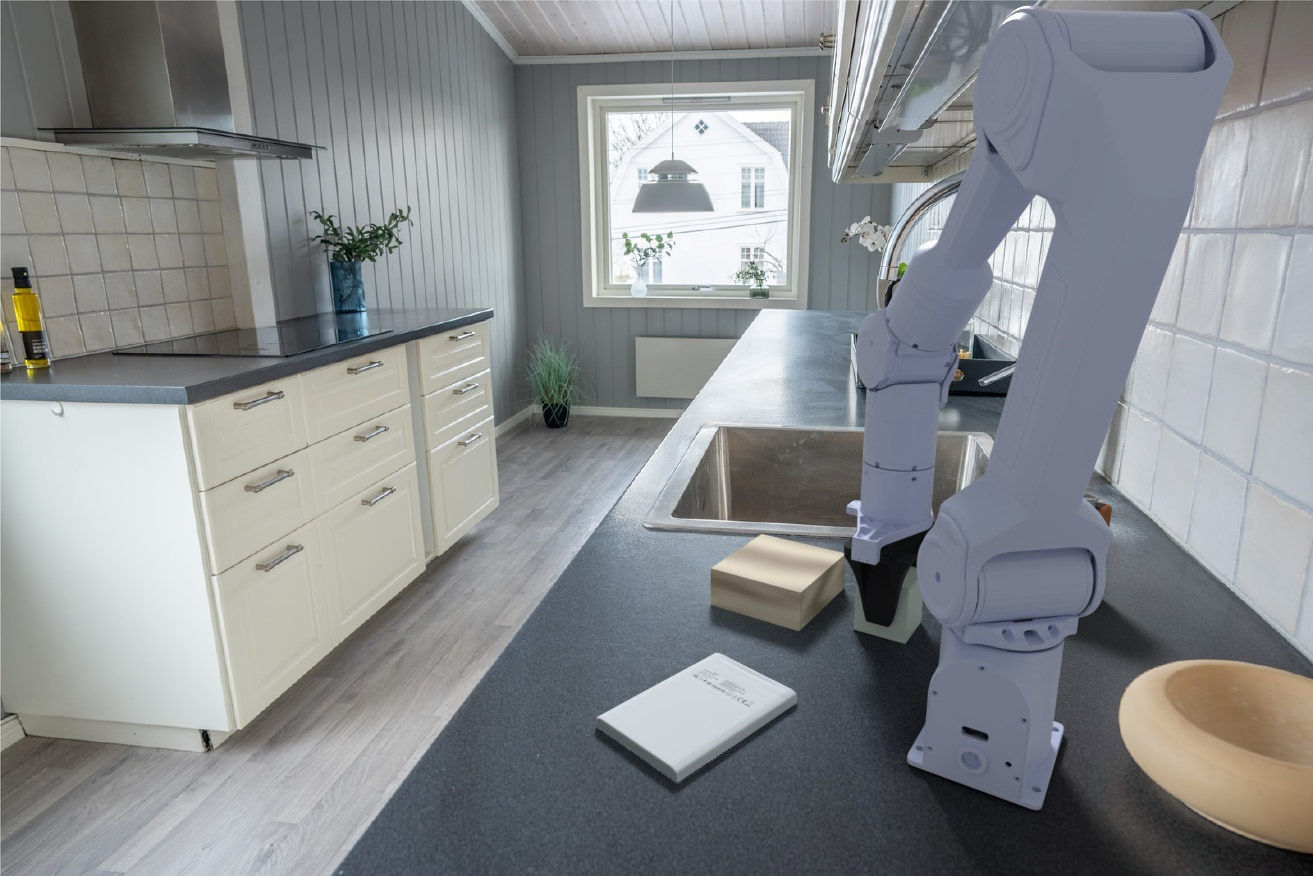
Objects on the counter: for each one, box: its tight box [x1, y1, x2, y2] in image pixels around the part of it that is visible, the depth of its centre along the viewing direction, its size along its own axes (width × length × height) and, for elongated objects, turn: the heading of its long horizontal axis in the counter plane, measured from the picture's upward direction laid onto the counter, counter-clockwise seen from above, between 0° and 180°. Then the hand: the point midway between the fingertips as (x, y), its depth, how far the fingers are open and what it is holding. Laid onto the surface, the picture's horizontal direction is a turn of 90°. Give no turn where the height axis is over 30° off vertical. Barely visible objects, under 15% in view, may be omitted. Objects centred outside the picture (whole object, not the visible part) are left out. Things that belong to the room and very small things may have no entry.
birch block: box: [710, 533, 846, 632], centre depth 73 cm, size 10×9×4 cm
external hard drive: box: [595, 652, 798, 783], centre depth 56 cm, size 2×8×12 cm
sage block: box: [853, 567, 924, 645], centre depth 67 cm, size 4×4×5 cm
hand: (888, 610), depth 68 cm, fingers closed on sage block, 4 cm apart
